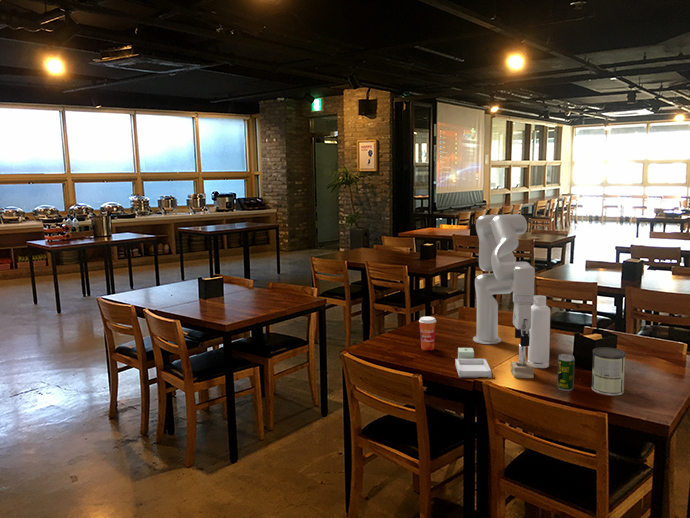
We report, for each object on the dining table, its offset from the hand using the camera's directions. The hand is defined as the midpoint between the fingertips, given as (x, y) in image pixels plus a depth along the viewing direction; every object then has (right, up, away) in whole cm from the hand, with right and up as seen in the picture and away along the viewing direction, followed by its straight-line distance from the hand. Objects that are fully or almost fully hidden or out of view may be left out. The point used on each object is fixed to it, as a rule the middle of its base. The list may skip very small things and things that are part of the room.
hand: (521, 341), depth 209 cm
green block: (-17, -11, +18) cm, 28 cm away
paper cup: (-30, -9, +37) cm, 49 cm away
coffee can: (+25, -15, -16) cm, 33 cm away
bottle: (+10, -11, +12) cm, 19 cm away
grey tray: (-17, -12, +7) cm, 22 cm away
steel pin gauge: (0, -13, +1) cm, 13 cm away
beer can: (+11, -15, -14) cm, 23 cm away
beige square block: (0, -13, +1) cm, 13 cm away
